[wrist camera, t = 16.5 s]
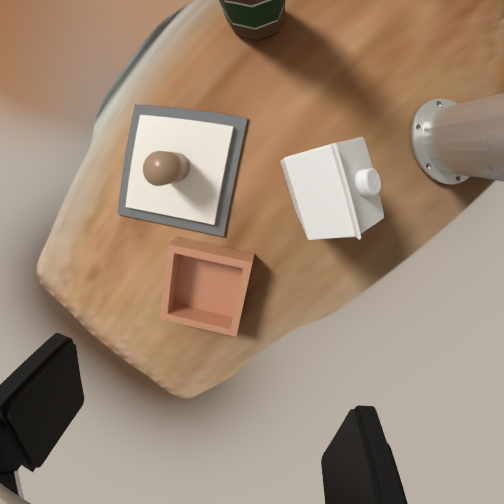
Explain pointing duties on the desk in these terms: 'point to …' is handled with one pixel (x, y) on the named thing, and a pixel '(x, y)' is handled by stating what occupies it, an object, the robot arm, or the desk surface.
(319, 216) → the milk carton
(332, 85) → the desk surface
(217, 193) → the cover
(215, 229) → the mat
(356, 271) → the desk surface
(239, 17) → the beer bottle
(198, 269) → the terracotta square tray
